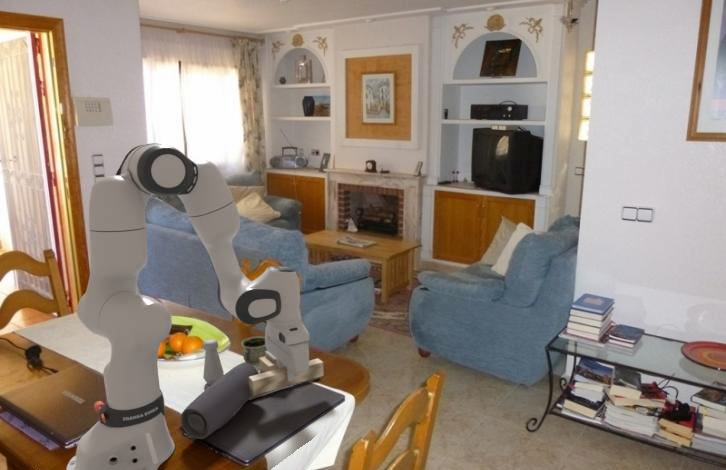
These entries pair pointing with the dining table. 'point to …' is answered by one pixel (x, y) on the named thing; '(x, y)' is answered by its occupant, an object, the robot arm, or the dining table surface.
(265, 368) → the ridge stand
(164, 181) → the robot arm
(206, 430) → the bluetooth speaker
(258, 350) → the vessel
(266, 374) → the birch batten
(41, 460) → the dining table surface
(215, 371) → the salt shaker
